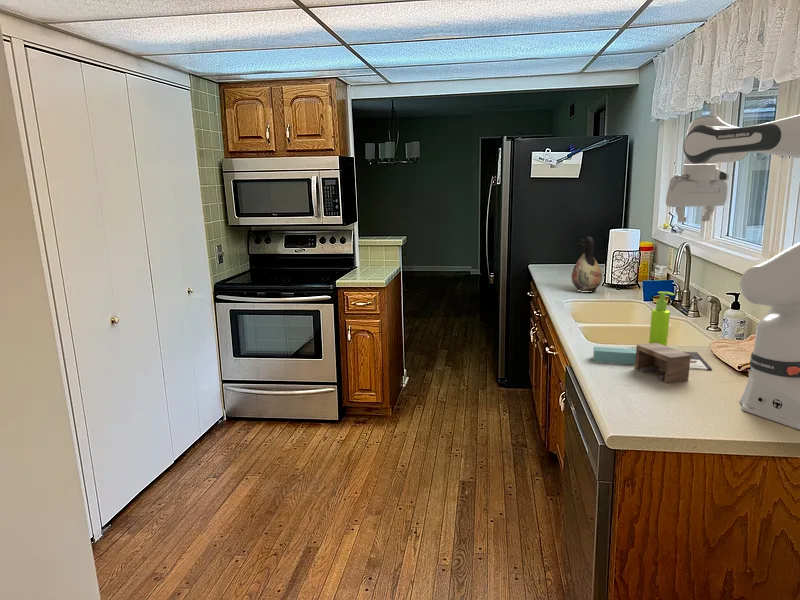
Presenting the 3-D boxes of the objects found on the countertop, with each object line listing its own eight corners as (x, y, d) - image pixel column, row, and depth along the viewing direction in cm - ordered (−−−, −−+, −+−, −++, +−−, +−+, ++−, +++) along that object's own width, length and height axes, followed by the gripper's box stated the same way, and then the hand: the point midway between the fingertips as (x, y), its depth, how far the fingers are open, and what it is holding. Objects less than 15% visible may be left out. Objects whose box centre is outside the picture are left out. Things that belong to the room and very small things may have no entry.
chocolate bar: (697, 352, 198) (711, 368, 181) (696, 355, 198) (711, 371, 181) (669, 350, 200) (680, 366, 183) (668, 353, 200) (680, 369, 183)
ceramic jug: (566, 289, 313) (569, 234, 307) (594, 288, 314) (597, 234, 308) (577, 295, 297) (581, 237, 291) (606, 294, 298) (611, 237, 291)
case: (636, 360, 192) (637, 349, 191) (639, 365, 187) (640, 353, 186) (593, 357, 195) (593, 346, 194) (594, 362, 190) (595, 350, 189)
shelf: (688, 380, 172) (690, 355, 170) (667, 383, 170) (669, 357, 168) (654, 366, 185) (656, 342, 183) (634, 368, 183) (636, 344, 181)
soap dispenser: (667, 349, 203) (673, 294, 199) (647, 346, 207) (652, 292, 203) (671, 345, 208) (676, 291, 203) (650, 342, 211) (655, 289, 207)
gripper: (680, 174, 162) (675, 223, 165) (733, 174, 169) (727, 221, 172) (663, 174, 168) (658, 222, 171) (715, 174, 175) (710, 220, 178)
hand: (693, 221), depth 171 cm, fingers open, 8 cm apart
